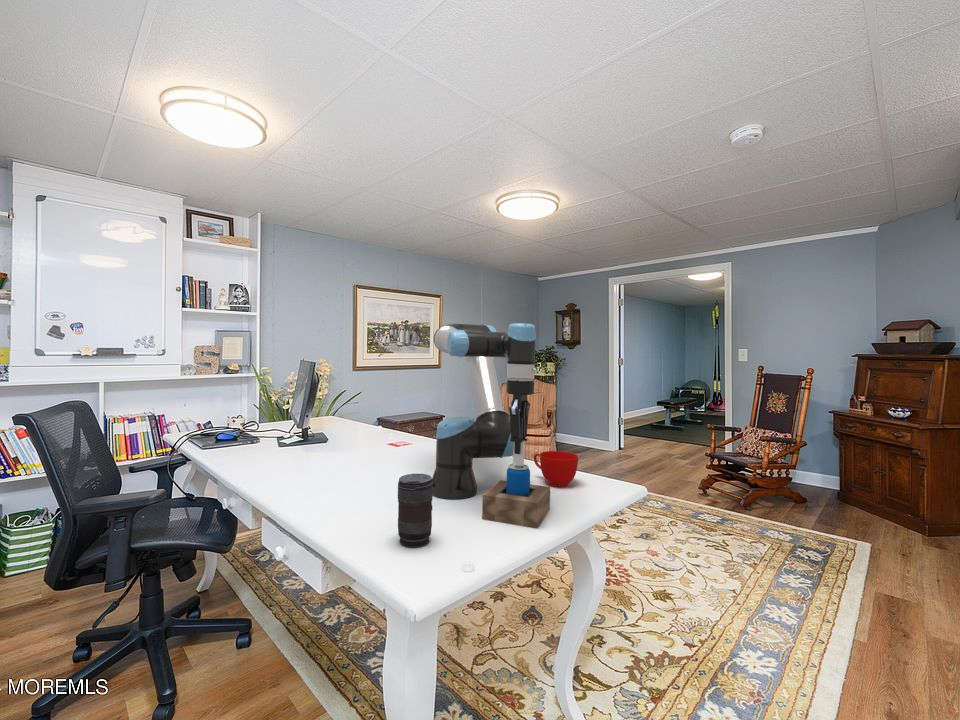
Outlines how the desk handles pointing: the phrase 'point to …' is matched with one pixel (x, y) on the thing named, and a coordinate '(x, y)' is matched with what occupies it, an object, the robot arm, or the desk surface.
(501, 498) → the socket block
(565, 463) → the ceramic cup
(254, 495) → the desk surface
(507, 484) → the beverage can
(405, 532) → the camera lens
